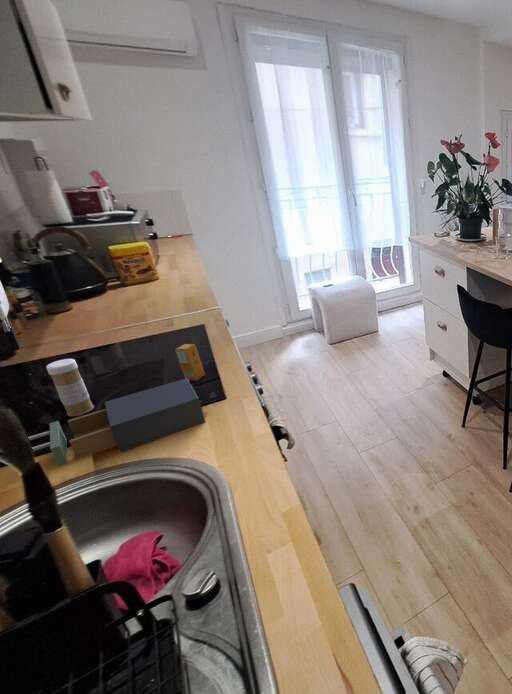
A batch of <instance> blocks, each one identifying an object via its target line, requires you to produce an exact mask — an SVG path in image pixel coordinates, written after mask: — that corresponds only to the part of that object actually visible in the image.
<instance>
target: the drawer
mask: <svg viewBox="0 0 512 694" xmlns="http://www.w3.org/2000/svg"><path fill="white" fill-rule="evenodd" d="M67 423H68V426H69V428H70V430H71V433H72V435H73V438H71V439H69V444H70V447H71V448H72V451H73V453H74V456H75V457H76V459H79V458H82V457H85V456H88V455H93V454H96V453H99V452H102V451H105V450H108V449H110V448H113V447H116V446H118V445H117V443H116V440H115V438H114V435H113V433H112V430H111V428H110V424H109V420H108V415H107V411H106V408H103V409H100V410H97V411H94V412H91V413H90V412H89V413H86V414H83V415H80V416H76V417H73V418H71V419H68V420H67ZM46 436H49V442H45V443H42V444H39V445H36V446H33V447H31V448H32V449H33V452H36V451H38V450H42V449H44V448H47V447H49V449H50V451H51V454H52V456H53V458H54V460H55V463H56V464H57V467H61V466H62V467H63V466H65V465H67V464H68V444H67V437H66V435H65V433H64V431H63V429H62V426H61V424H60V422H59V420H56V421H53V422H50V423H49V430H48V431H44V432H40V433H37V434H34V435H30V436H28V438H29V440H30V441H34V440H36V439H40V438H43V437H46Z"/></svg>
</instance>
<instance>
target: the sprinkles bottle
mask: <svg viewBox="0 0 512 694" xmlns="http://www.w3.org/2000/svg"><path fill="white" fill-rule="evenodd" d="M45 368H46V371H47V374H48V375H49V376H50V377H51V380H52V382H53V385H54V387H55V389H56V391H57V395H58V397H59V399H60V401H61V403H62V405H63V407H64V409H65V411H66V415H67V416H68V417H72V418H75V417H80V416H84V415H87V414H89V413H90V412H92V411H93V410H94V408H95V406H94V404H93V403H92V400H91V398H90V394H89V392H88V390H87V389H88V388H87V387H86V384H85V382H84V379H83V378H82V376H81V374H80V372H79V367H78V364H77V362H76V360H75V359H74V358H64V359H59V360H55V361H53V362H50V363H48V364H47V365H46V366H45Z"/></svg>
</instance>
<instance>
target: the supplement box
mask: <svg viewBox="0 0 512 694" xmlns="http://www.w3.org/2000/svg"><path fill="white" fill-rule="evenodd" d="M196 345H197V344H195V343H184V344H182V345H180V346H178V347H177V348H175V349H174V352H175V354H176V357H177V359H178V360H177V361H178V362H179V365H180V366H179V367H180V368H181V371H182V373H183V377H184V379H185V378H187V380H188V381H189V382H198V381H199V380H201V379H202V378H203V377H205V376H206V372H205V370H204V367H203V363H202V360H201V358H200V354H199V351H198V349H197V346H196Z"/></svg>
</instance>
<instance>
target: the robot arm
mask: <svg viewBox="0 0 512 694" xmlns="http://www.w3.org/2000/svg"><path fill="white" fill-rule="evenodd" d="M2 262H3V260H2V258H1V256H0V263H2ZM9 311H10V303H9V300H8V296H7V294H6V292H5V289H4V286H3V284H2V281H1V280H0V355H1V354H6V353H10V352H15V351H16V352H17V351H19V350H20V349H21V345H20V342H19V339H18V337H17V335H16V333H15V330H14V328H13V327H11V323H10V322H9V319H8V314H9Z"/></svg>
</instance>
